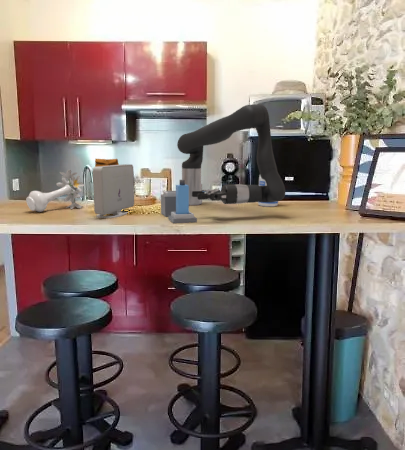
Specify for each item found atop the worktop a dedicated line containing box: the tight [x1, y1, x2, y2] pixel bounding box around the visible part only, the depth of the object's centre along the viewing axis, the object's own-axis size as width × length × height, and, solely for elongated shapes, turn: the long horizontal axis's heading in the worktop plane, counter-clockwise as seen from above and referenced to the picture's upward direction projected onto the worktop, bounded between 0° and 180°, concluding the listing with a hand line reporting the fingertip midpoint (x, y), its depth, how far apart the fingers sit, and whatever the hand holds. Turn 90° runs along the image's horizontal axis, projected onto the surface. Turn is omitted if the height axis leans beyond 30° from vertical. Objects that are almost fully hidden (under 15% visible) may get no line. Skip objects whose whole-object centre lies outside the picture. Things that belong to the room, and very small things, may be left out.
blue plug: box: [175, 179, 190, 214], centre depth 162 cm, size 4×4×14 cm
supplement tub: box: [257, 175, 279, 208], centre depth 204 cm, size 10×10×15 cm
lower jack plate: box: [167, 210, 198, 224], centre depth 163 cm, size 9×9×3 cm
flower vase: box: [25, 169, 85, 213], centre depth 188 cm, size 13×18×25 cm
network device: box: [92, 163, 135, 219], centre depth 176 cm, size 26×9×20 cm, turn 161°
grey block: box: [160, 190, 176, 218], centre depth 177 cm, size 9×9×10 cm
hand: (194, 195), depth 163 cm, fingers open, 8 cm apart
